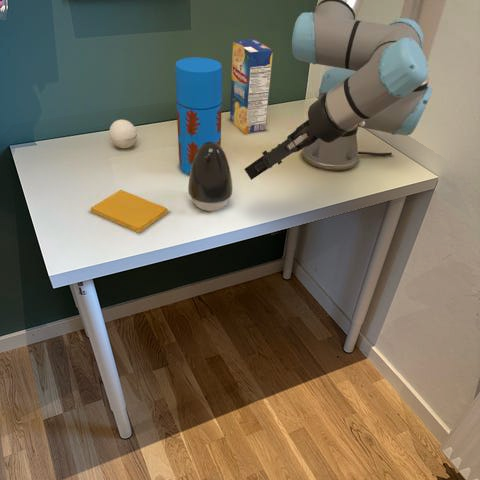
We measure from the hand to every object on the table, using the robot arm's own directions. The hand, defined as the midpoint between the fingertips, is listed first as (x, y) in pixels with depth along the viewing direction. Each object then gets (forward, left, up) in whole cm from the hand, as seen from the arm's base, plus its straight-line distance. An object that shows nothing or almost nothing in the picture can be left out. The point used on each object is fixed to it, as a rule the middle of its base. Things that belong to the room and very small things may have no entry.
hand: (249, 173), depth 100 cm
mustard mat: (+27, +2, -11) cm, 29 cm away
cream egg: (+36, -30, -12) cm, 49 cm away
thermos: (+15, -22, -12) cm, 29 cm away
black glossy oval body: (+9, -4, -12) cm, 15 cm away
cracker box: (+5, -52, -12) cm, 54 cm away
